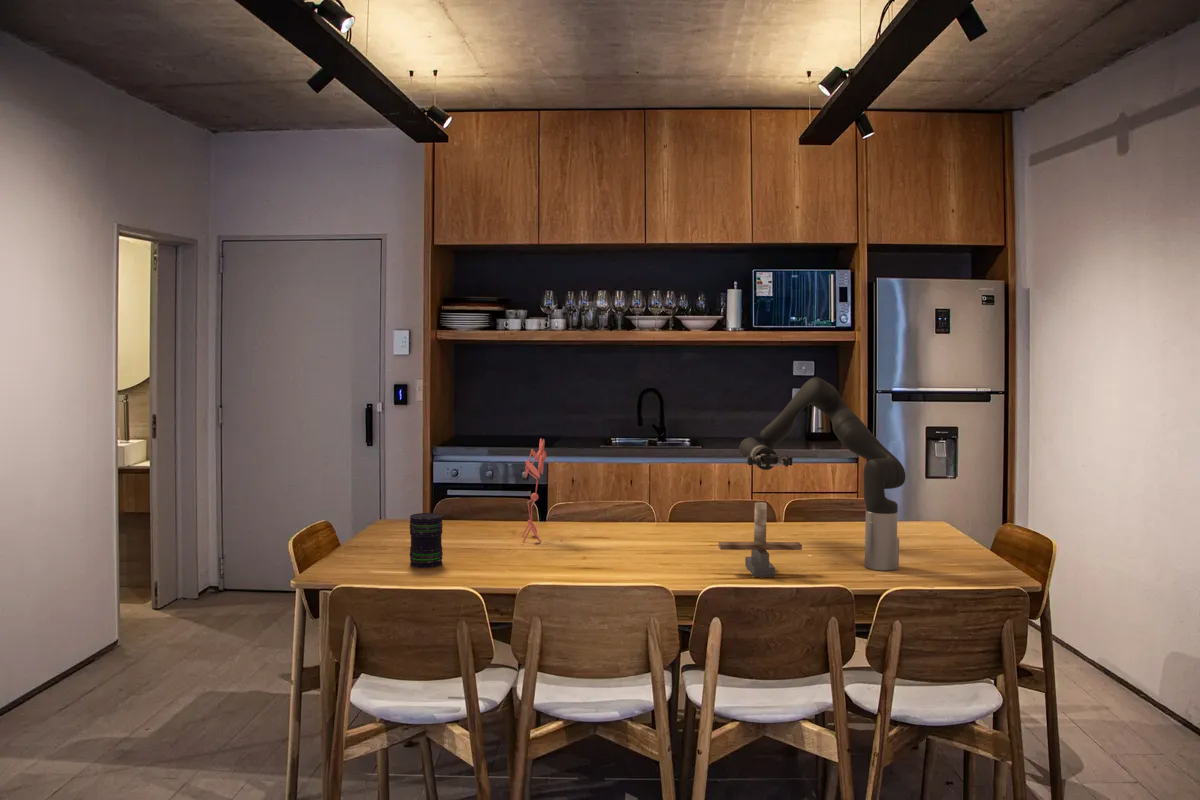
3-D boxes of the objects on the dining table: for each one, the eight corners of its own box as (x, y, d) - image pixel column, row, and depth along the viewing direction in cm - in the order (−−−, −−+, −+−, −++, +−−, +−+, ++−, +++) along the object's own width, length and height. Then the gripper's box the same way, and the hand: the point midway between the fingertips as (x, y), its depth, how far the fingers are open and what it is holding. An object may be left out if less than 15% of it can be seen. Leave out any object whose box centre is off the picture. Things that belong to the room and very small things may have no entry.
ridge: (764, 566, 281) (765, 543, 280) (774, 577, 267) (775, 553, 266) (745, 566, 281) (745, 543, 280) (754, 577, 267) (754, 553, 266)
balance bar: (798, 547, 276) (799, 502, 275) (801, 550, 272) (802, 504, 271) (718, 546, 275) (719, 502, 274) (720, 549, 271) (721, 504, 270)
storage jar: (414, 560, 285) (413, 512, 284) (445, 560, 285) (445, 513, 284) (406, 568, 275) (406, 518, 274) (438, 568, 275) (438, 519, 274)
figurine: (520, 547, 304) (523, 441, 303) (519, 532, 330) (521, 434, 328) (567, 547, 306) (570, 442, 304) (561, 532, 332) (564, 435, 330)
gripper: (742, 445, 308) (751, 451, 291) (784, 446, 308) (796, 451, 292) (741, 468, 308) (751, 474, 292) (784, 468, 308) (796, 475, 292)
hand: (773, 463), depth 292 cm, fingers open, 8 cm apart
